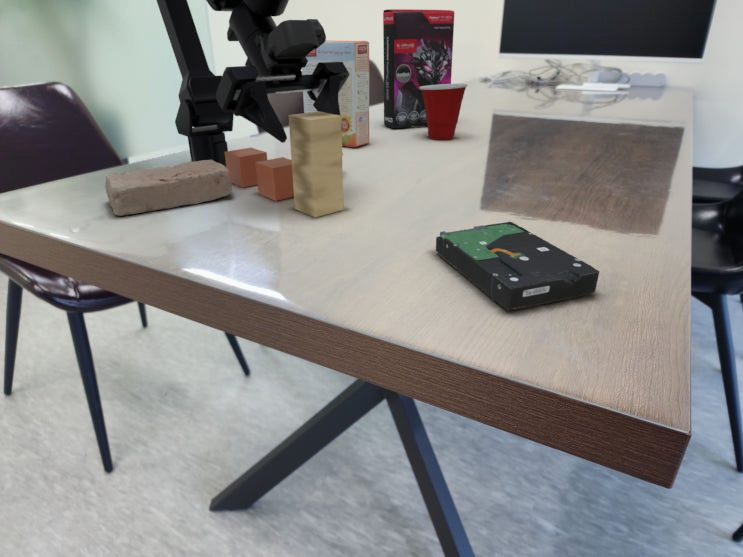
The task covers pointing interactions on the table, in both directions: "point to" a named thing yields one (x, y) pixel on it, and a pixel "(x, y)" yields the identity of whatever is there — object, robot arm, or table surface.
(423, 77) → the graphics card box
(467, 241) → the disk drive
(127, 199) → the brick
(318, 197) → the maple block
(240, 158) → the cube far
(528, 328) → the table surface
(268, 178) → the cube mid
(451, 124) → the plastic cup
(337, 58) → the cracker box
